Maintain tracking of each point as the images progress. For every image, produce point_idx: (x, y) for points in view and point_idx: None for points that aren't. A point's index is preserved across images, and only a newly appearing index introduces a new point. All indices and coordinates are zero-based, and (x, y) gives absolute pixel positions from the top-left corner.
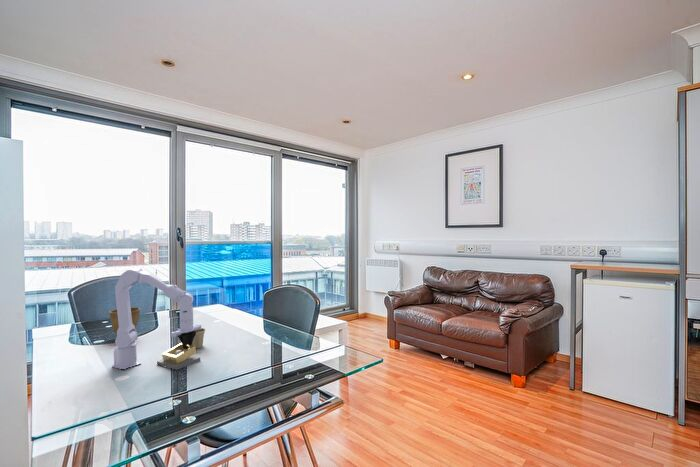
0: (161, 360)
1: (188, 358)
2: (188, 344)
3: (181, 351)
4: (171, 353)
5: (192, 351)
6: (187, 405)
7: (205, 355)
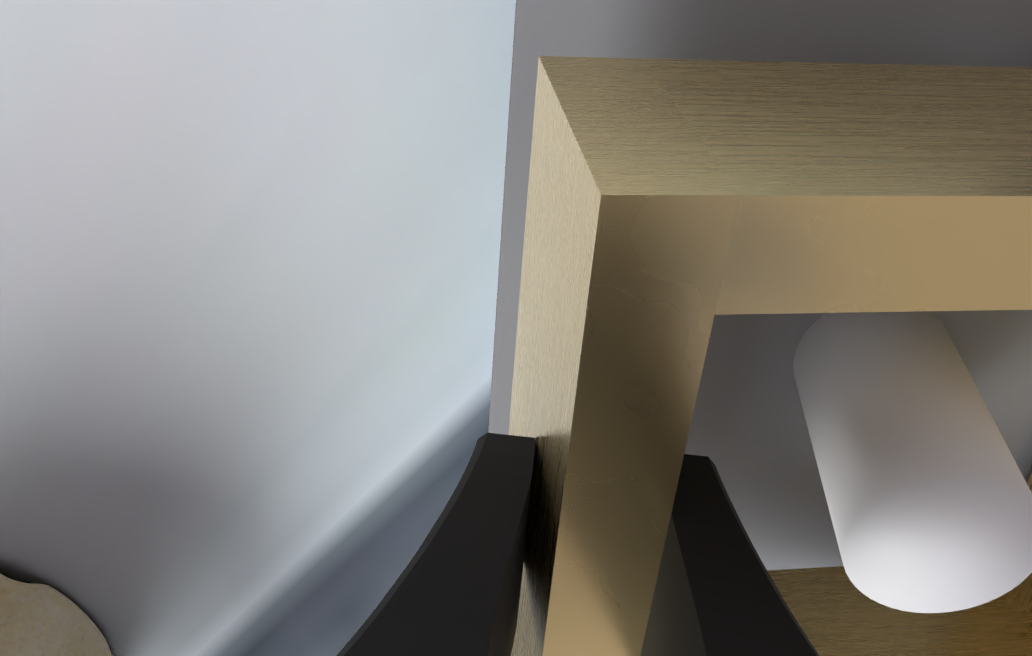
0: None
1: None
2: (552, 577)
3: (888, 464)
4: (910, 651)
5: (735, 112)
6: None
7: (146, 63)
